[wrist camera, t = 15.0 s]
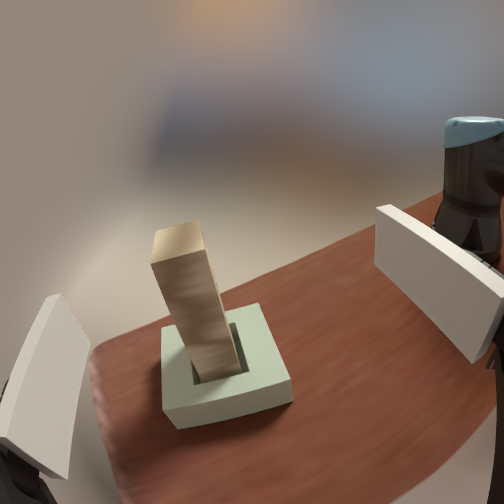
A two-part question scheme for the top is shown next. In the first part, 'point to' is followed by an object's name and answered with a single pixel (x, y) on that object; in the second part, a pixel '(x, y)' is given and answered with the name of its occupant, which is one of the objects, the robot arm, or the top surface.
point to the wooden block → (195, 300)
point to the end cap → (224, 390)
